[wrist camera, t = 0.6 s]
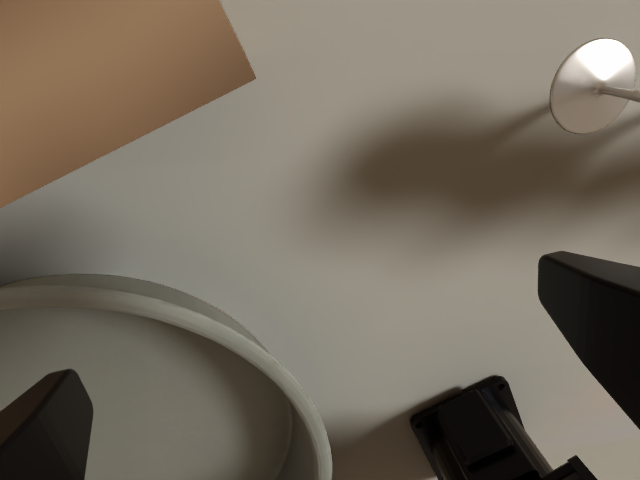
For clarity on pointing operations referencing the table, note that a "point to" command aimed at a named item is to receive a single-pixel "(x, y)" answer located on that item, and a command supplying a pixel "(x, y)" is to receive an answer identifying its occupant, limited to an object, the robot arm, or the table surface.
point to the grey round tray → (161, 381)
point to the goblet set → (593, 86)
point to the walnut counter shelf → (103, 78)
